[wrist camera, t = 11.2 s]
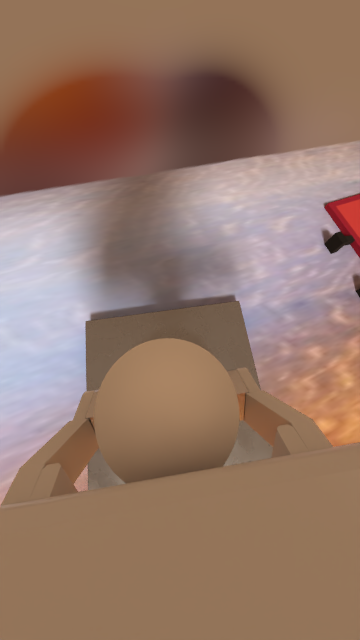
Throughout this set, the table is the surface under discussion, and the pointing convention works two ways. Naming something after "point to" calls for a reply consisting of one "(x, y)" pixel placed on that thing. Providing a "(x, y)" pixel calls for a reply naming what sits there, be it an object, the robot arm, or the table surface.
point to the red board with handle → (345, 224)
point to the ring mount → (186, 324)
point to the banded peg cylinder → (166, 411)
